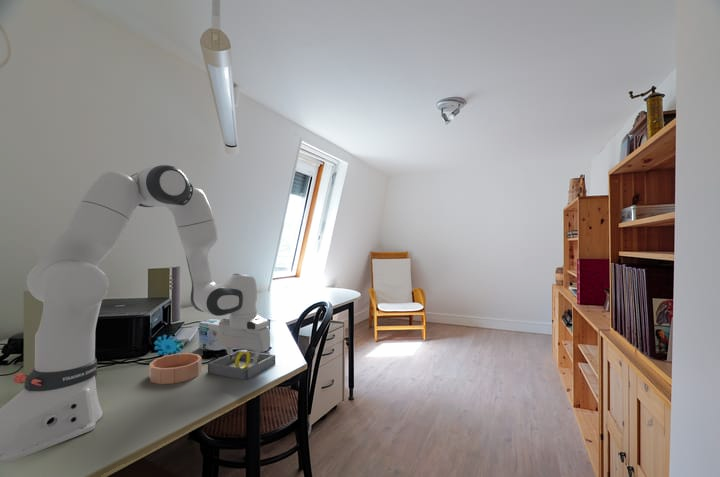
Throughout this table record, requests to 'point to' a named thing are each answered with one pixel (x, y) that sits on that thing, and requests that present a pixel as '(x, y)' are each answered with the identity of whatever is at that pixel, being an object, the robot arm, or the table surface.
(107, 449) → the table surface
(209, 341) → the light bulb box
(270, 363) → the parts tray
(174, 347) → the gear
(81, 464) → the table surface
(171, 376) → the bowl
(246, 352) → the watch
